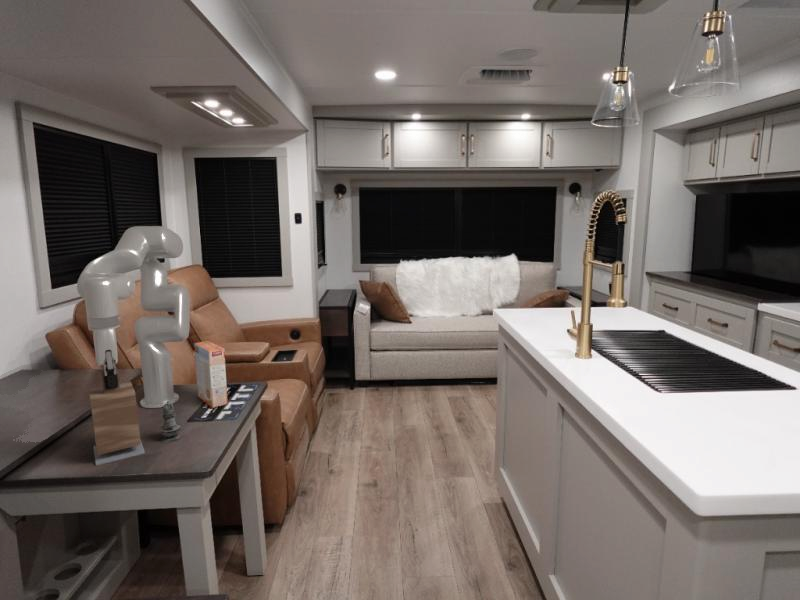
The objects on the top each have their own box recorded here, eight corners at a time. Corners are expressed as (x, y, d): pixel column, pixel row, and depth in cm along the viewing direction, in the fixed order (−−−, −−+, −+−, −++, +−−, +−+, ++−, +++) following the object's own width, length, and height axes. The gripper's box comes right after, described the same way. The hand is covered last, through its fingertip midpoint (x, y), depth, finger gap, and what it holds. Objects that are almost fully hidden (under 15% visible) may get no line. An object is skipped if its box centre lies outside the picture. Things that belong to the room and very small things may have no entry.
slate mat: (93, 448, 145) (93, 446, 145) (139, 437, 152) (139, 435, 152) (96, 465, 136) (95, 463, 135) (144, 453, 142) (144, 451, 142)
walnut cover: (95, 440, 145) (86, 368, 141) (136, 431, 150) (128, 361, 146) (97, 455, 136) (88, 379, 132) (140, 444, 142) (133, 371, 138)
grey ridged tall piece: (175, 432, 156) (172, 395, 153) (185, 437, 152) (182, 400, 150) (157, 438, 151) (153, 401, 149) (166, 444, 147) (162, 406, 145)
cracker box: (229, 404, 177) (225, 347, 173) (212, 409, 173) (207, 351, 169) (214, 393, 187) (209, 339, 183) (197, 397, 183) (193, 342, 179)
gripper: (86, 318, 141) (93, 380, 145) (89, 330, 128) (97, 398, 131) (116, 315, 145) (123, 375, 149) (122, 326, 132) (129, 392, 135)
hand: (111, 385), depth 140 cm, fingers closed on walnut cover, 4 cm apart
